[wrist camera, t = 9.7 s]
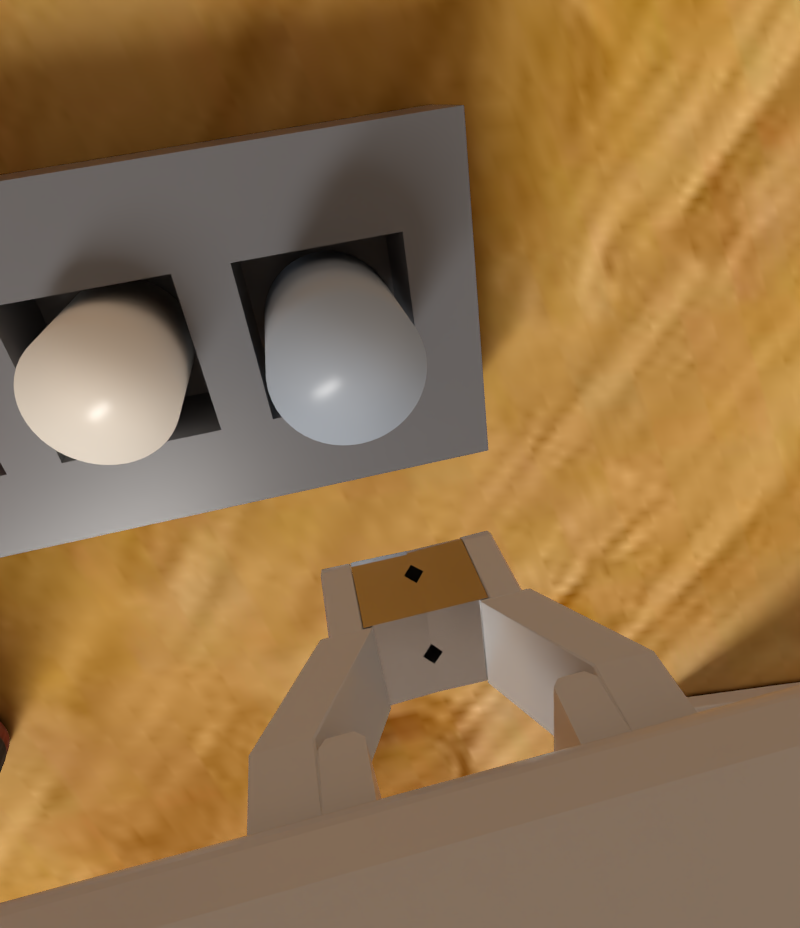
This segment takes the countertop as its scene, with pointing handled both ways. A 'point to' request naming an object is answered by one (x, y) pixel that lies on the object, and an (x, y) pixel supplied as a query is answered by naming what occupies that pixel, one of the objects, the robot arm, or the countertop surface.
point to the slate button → (340, 350)
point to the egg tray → (239, 306)
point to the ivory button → (108, 374)
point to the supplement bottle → (3, 744)
